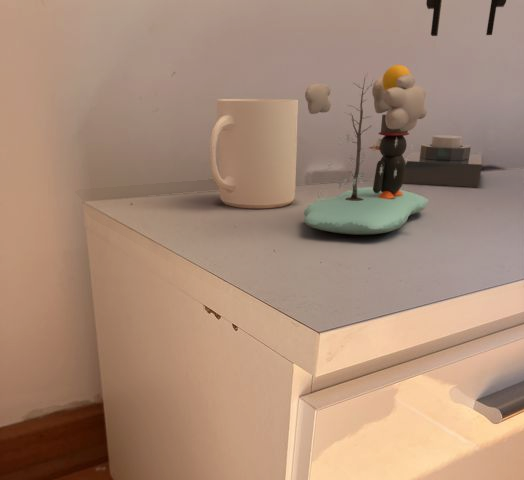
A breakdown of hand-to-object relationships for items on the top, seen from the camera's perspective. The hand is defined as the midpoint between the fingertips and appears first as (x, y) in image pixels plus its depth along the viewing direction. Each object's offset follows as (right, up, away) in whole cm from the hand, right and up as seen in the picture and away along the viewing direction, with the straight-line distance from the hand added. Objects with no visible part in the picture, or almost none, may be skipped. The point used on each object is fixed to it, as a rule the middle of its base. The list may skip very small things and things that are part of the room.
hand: (461, 34), depth 81 cm
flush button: (0, -14, +7) cm, 15 cm away
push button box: (0, -18, +8) cm, 20 cm away
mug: (-30, -27, -11) cm, 42 cm away
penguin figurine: (-17, -31, -20) cm, 41 cm away
